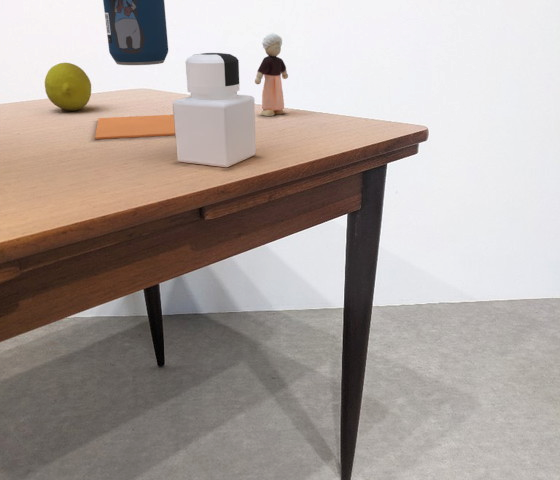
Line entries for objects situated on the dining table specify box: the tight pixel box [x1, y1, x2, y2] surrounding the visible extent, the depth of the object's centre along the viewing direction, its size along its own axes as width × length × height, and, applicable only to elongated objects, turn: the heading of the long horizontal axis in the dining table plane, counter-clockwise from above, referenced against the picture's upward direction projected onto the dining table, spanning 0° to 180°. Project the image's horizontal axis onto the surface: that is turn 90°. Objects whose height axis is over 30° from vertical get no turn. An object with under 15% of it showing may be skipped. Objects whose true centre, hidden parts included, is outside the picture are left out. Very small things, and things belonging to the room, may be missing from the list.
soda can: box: [102, 0, 169, 66], centre depth 70 cm, size 7×7×12 cm
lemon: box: [44, 62, 92, 112], centre depth 107 cm, size 11×8×8 cm
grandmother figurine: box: [254, 32, 289, 117], centre depth 100 cm, size 8×4×13 cm, turn 151°
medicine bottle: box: [172, 52, 257, 168], centre depth 71 cm, size 7×7×12 cm
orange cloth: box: [94, 114, 175, 140], centre depth 94 cm, size 22×16×1 cm
